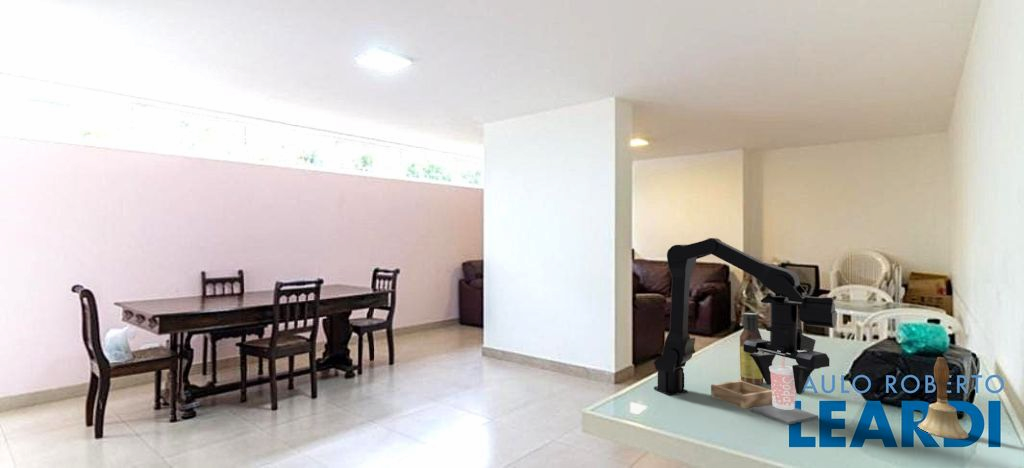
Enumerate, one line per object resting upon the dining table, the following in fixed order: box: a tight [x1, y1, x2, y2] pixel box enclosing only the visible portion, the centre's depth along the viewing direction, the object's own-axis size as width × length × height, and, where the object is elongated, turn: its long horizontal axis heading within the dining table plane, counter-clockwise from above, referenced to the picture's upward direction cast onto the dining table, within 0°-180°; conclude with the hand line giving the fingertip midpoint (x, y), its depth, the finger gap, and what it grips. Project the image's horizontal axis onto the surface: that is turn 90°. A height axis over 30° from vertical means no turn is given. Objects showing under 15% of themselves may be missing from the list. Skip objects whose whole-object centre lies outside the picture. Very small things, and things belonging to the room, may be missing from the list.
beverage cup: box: [769, 356, 797, 410], centre depth 119 cm, size 6×6×14 cm
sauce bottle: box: [738, 312, 764, 386], centre depth 145 cm, size 7×6×20 cm
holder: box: [710, 379, 772, 409], centre depth 130 cm, size 10×10×3 cm
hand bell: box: [917, 356, 969, 440], centre depth 109 cm, size 8×8×16 cm
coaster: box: [750, 403, 819, 425], centre depth 119 cm, size 10×10×1 cm
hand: (783, 389), depth 119 cm, fingers closed on beverage cup, 7 cm apart
